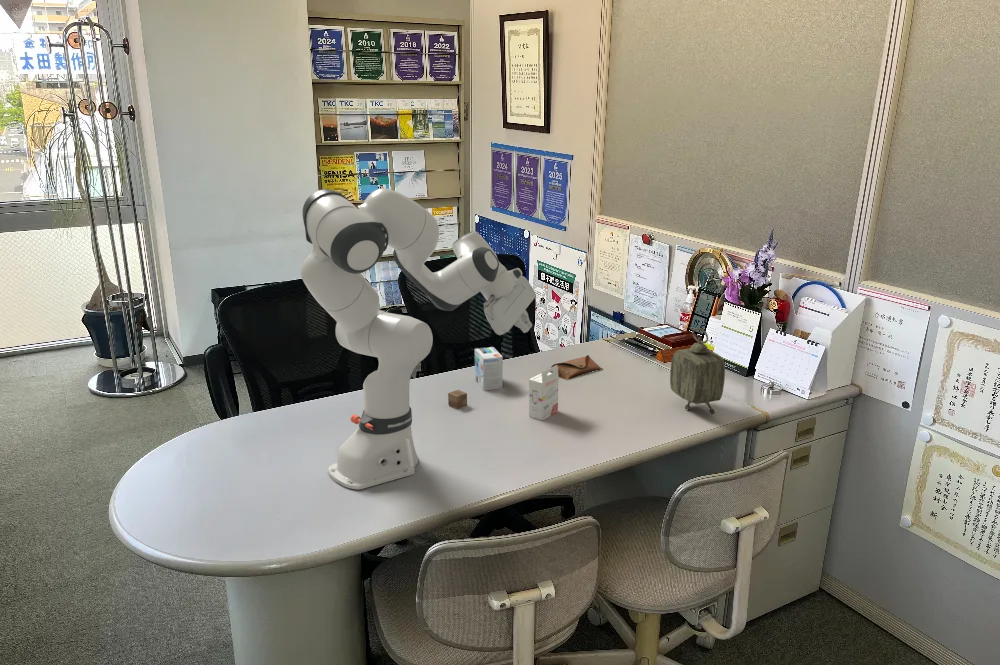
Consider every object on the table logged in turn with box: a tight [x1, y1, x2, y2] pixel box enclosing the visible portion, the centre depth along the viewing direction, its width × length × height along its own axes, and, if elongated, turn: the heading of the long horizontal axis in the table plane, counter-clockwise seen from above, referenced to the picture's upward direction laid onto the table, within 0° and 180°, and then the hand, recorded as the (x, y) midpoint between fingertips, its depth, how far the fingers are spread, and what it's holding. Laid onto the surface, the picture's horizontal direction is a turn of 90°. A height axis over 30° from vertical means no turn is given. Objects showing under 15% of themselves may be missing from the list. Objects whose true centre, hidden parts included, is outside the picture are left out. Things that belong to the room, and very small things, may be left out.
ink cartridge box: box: [528, 365, 560, 421], centre depth 209 cm, size 9×5×15 cm, turn 143°
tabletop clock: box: [669, 327, 726, 415], centre depth 211 cm, size 14×9×25 cm, turn 22°
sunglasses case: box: [550, 354, 604, 381], centre depth 246 cm, size 18×7×7 cm
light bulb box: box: [474, 346, 504, 391], centre depth 233 cm, size 11×7×11 cm, turn 17°
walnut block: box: [447, 389, 468, 410], centre depth 216 cm, size 4×4×4 cm
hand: (528, 329), depth 190 cm, fingers closed
